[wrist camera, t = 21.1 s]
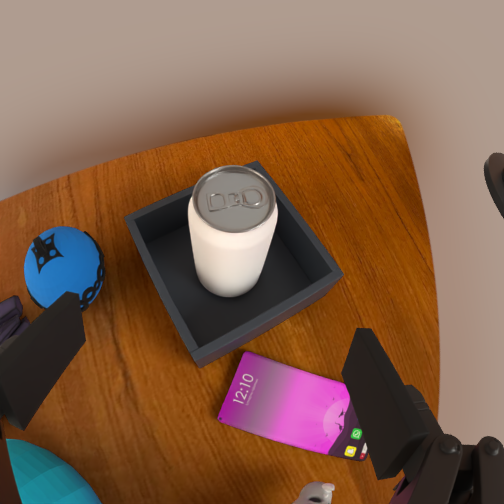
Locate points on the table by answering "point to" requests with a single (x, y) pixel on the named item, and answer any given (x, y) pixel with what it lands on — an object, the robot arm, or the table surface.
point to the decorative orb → (46, 477)
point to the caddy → (240, 307)
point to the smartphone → (293, 408)
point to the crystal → (11, 318)
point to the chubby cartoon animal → (315, 493)
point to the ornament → (64, 266)
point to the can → (231, 228)
